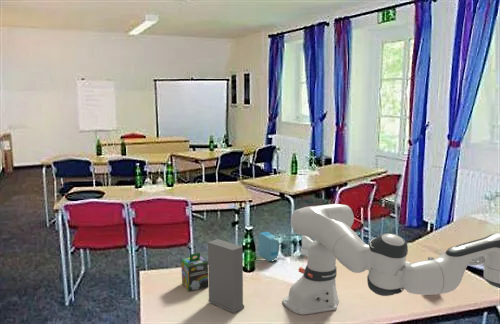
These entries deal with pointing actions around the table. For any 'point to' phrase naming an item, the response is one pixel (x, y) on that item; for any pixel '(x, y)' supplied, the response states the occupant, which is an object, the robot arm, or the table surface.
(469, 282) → the table surface
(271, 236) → the data package
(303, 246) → the white angled block
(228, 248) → the tall grey upright box
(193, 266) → the chalk box
